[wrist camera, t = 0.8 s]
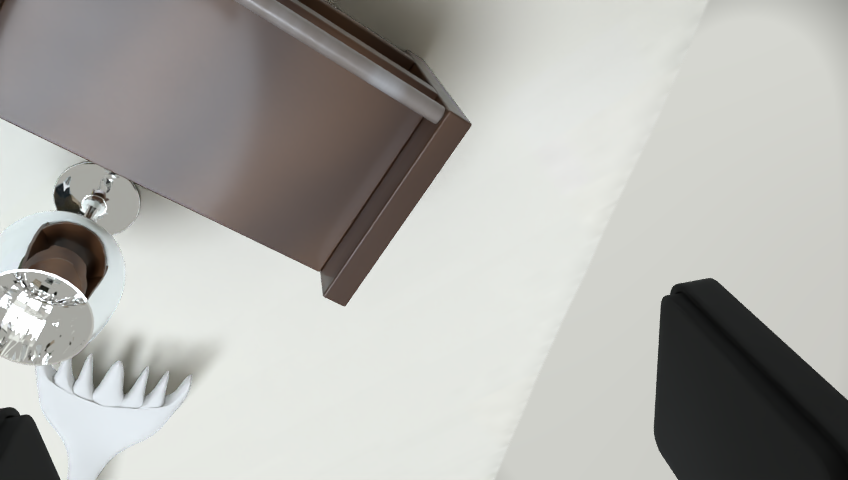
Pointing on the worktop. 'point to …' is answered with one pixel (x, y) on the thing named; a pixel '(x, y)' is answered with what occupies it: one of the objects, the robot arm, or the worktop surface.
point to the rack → (239, 115)
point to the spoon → (102, 412)
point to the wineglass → (65, 267)
